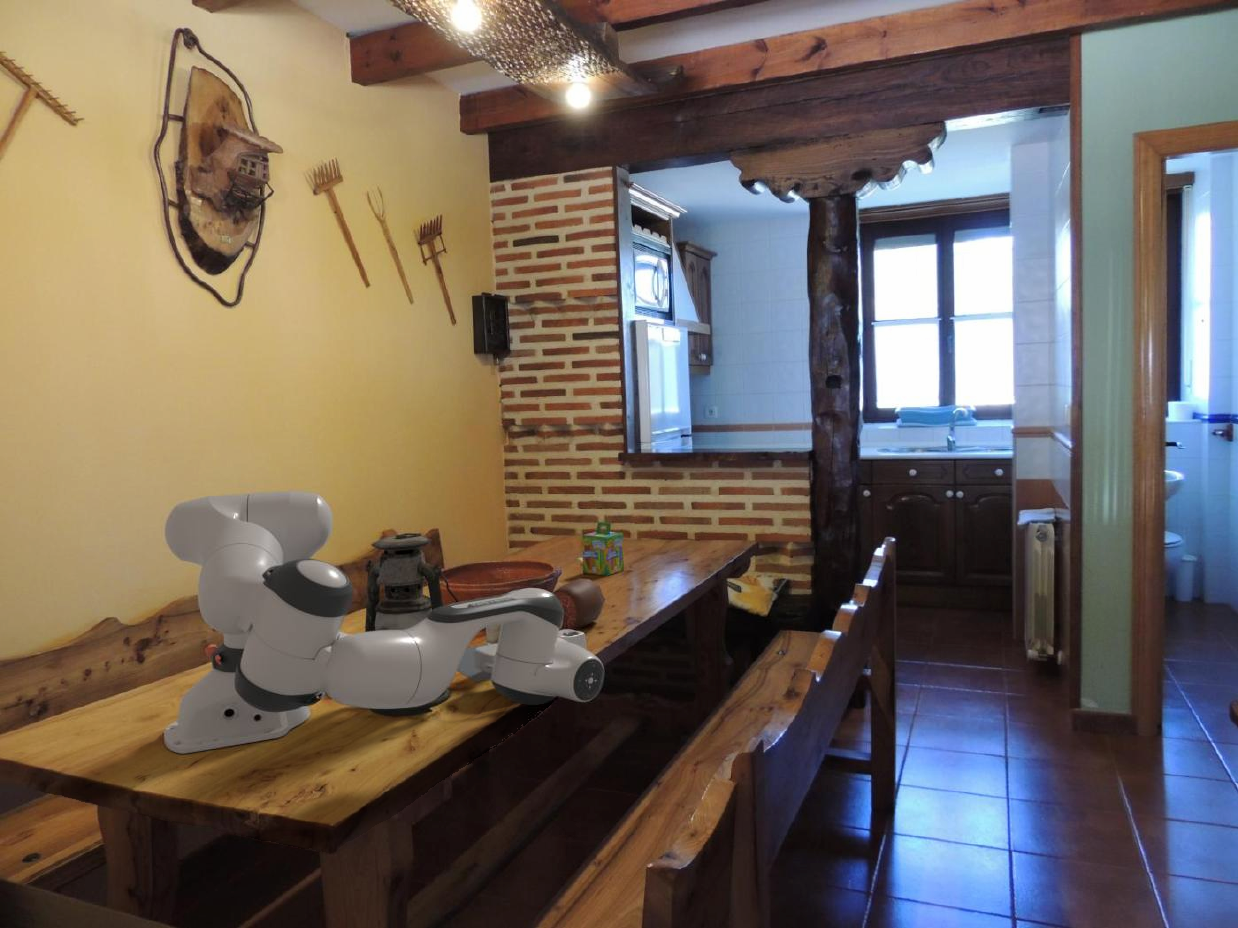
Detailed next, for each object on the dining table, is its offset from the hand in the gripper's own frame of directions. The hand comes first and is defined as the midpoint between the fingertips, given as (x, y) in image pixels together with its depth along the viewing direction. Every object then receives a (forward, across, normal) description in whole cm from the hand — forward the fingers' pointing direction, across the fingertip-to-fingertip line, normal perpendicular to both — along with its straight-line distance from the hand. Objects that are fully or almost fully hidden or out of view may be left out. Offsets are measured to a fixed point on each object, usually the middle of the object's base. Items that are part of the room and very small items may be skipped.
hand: (510, 641), depth 169 cm
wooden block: (+3, 0, -6) cm, 7 cm away
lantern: (-1, -19, -6) cm, 20 cm away
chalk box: (+68, +64, -6) cm, 93 cm away
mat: (+9, 0, -6) cm, 11 cm away
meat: (+21, +27, -6) cm, 35 cm away
